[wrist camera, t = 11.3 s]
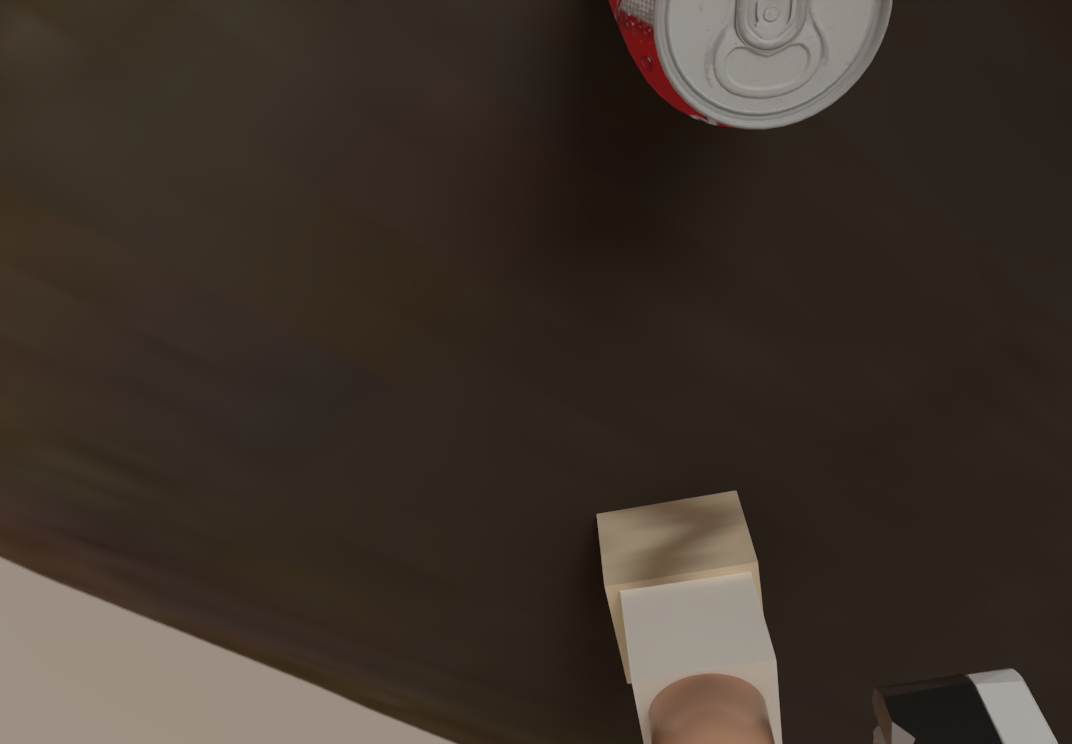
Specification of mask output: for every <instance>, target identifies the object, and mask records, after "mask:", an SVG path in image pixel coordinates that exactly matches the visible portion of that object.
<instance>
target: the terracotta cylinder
mask: <svg viewBox="0 0 1072 744" xmlns="http://www.w3.org/2000/svg"><path fill="white" fill-rule="evenodd" d="M649 725H650V735H651V744H775V742H774V737H773V733H772V728H771V724H770V719H769V715H768V710H767V706H766V702H765V699H764V697H763V695H762V694H761V693H760V691H759V690H758V689H757V688H756V687H754V686H753V685H752V684H750V683H749V682H747V681H745V680H743V679H740V678H737V677H734V676H730V675H724V674H699V675H694V676H689V677H686V678H683V679H680V680H678V681H675V682H673V683H671V684H670V685H668V686H667V687H665V688H664V689H663V690H661V691H660V692H659V693H658V694H657V696H656V697H655V698H654V700H653V701H652V703H651V705H650V709H649Z"/></svg>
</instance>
